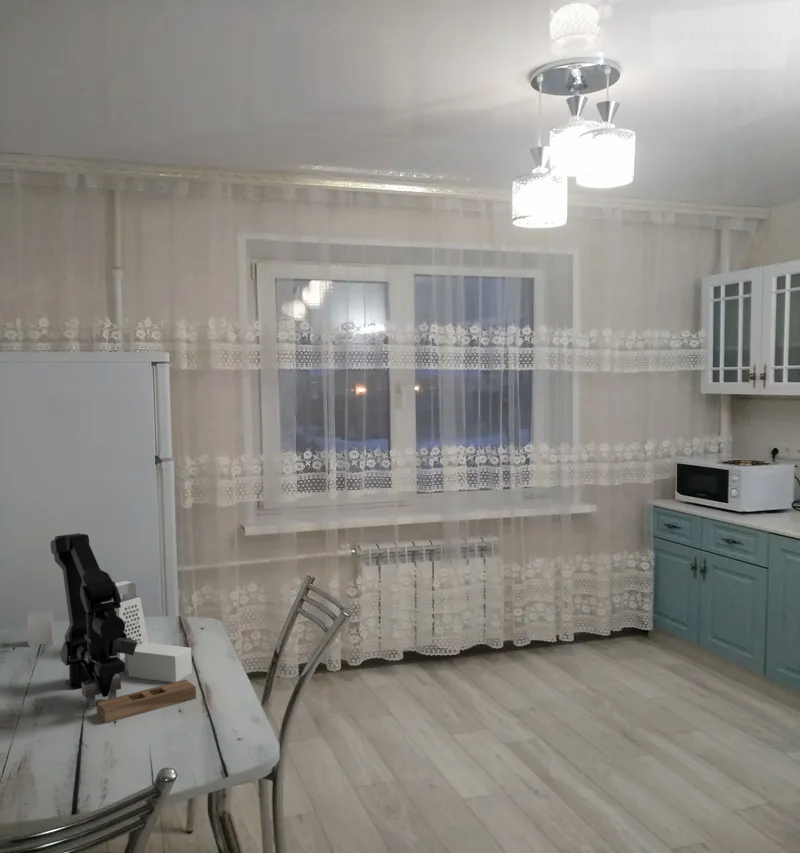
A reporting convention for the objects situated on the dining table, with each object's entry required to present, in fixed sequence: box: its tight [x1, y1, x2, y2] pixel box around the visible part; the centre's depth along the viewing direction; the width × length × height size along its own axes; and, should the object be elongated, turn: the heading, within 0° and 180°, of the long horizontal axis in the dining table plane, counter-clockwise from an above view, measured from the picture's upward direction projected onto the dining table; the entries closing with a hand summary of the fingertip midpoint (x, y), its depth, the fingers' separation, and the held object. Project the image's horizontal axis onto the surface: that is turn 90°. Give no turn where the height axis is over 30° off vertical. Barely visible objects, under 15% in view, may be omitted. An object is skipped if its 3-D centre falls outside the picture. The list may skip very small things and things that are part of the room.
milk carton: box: [124, 642, 193, 683], centre depth 209 cm, size 7×7×19 cm
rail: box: [96, 679, 197, 724], centre depth 188 cm, size 6×22×3 cm, turn 128°
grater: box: [102, 580, 150, 660], centre depth 228 cm, size 10×10×20 cm
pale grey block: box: [26, 609, 55, 646], centre depth 236 cm, size 4×7×10 cm, turn 109°
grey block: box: [81, 673, 122, 709], centre depth 191 cm, size 3×8×6 cm, turn 128°
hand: (101, 693), depth 191 cm, fingers open, 5 cm apart
